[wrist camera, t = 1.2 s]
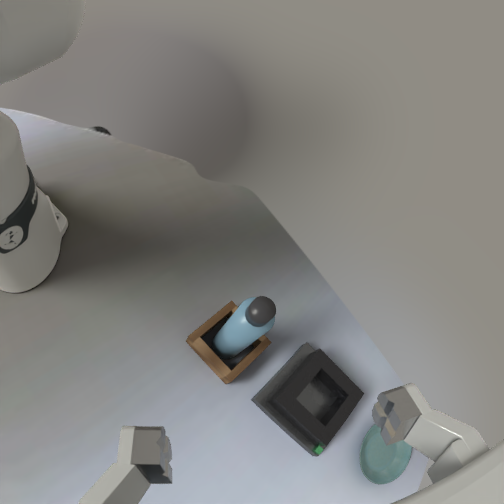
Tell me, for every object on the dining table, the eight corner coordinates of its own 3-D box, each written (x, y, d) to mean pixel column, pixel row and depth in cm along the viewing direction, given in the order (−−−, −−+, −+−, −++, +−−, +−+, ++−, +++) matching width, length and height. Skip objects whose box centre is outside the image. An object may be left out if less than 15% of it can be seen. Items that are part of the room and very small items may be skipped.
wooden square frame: (185, 341, 41) (188, 335, 38) (226, 308, 45) (231, 300, 43) (225, 384, 39) (231, 381, 37) (263, 347, 44) (271, 342, 41)
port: (250, 399, 39) (262, 396, 36) (302, 344, 46) (316, 336, 42) (312, 455, 37) (329, 457, 33) (355, 398, 44) (373, 394, 40)
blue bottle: (206, 343, 41) (235, 305, 29) (226, 326, 44) (262, 282, 32) (225, 364, 41) (264, 336, 29) (245, 346, 43) (289, 310, 31)
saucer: (402, 476, 38) (411, 476, 36) (349, 488, 35) (358, 490, 33) (403, 417, 45) (412, 415, 43) (352, 421, 42) (361, 420, 40)
